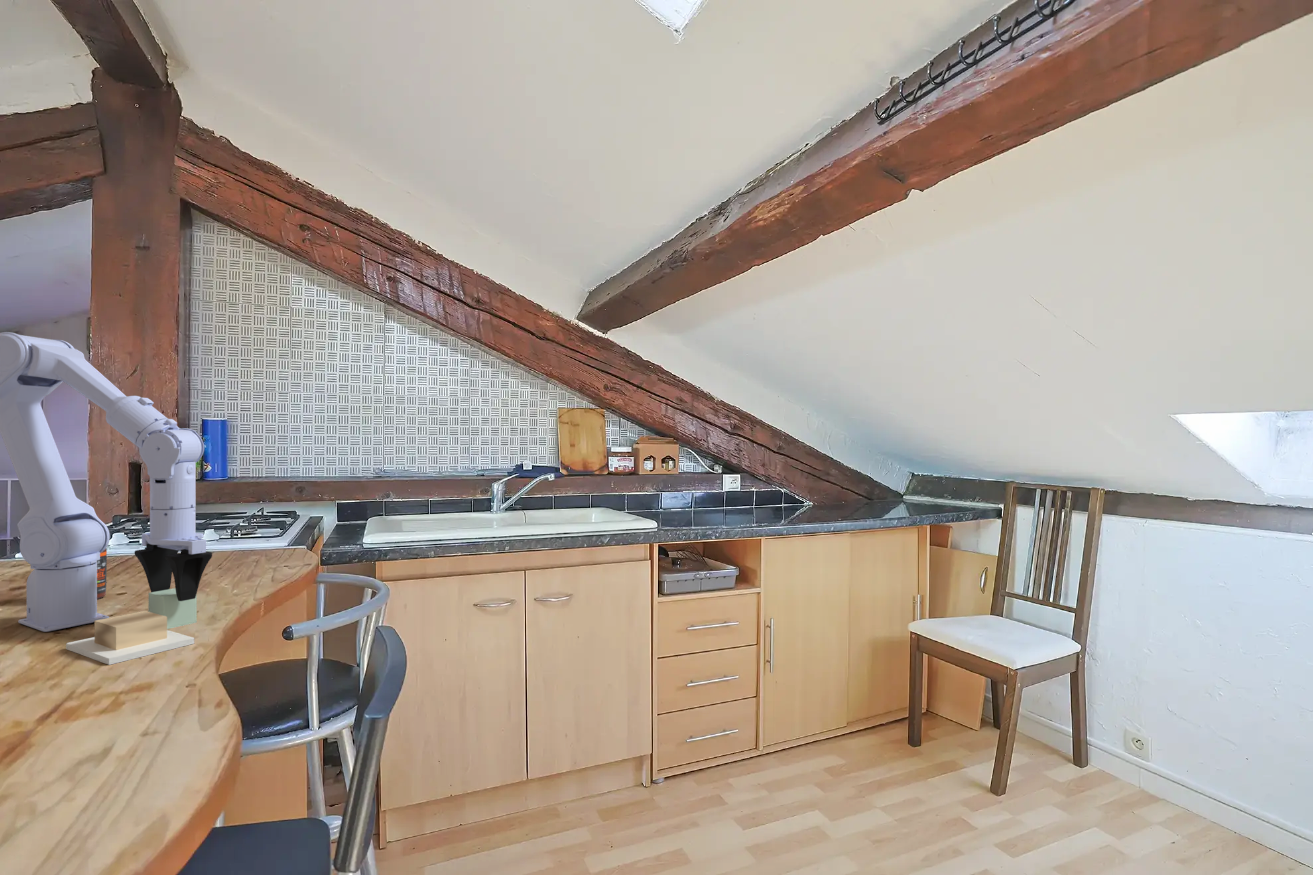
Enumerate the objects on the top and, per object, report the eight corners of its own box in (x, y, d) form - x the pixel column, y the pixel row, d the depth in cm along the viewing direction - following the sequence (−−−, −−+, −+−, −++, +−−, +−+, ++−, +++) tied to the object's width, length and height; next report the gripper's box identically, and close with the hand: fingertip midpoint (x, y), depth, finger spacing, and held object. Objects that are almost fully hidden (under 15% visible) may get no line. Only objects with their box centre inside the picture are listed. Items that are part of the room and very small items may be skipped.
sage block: (148, 625, 103) (148, 592, 103) (181, 618, 107) (181, 587, 107) (163, 630, 101) (163, 596, 101) (196, 622, 105) (196, 590, 105)
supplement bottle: (80, 604, 115) (80, 537, 115) (52, 602, 116) (52, 535, 116) (115, 595, 121) (115, 532, 121) (88, 593, 122) (88, 530, 122)
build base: (66, 649, 92) (66, 621, 92) (150, 630, 101) (150, 604, 101) (109, 665, 86) (109, 635, 86) (194, 643, 95) (194, 616, 95)
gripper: (227, 508, 104) (227, 596, 104) (176, 502, 111) (176, 585, 111) (176, 512, 98) (176, 607, 98) (126, 506, 105) (126, 594, 105)
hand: (173, 596), depth 104 cm, fingers open, 7 cm apart
